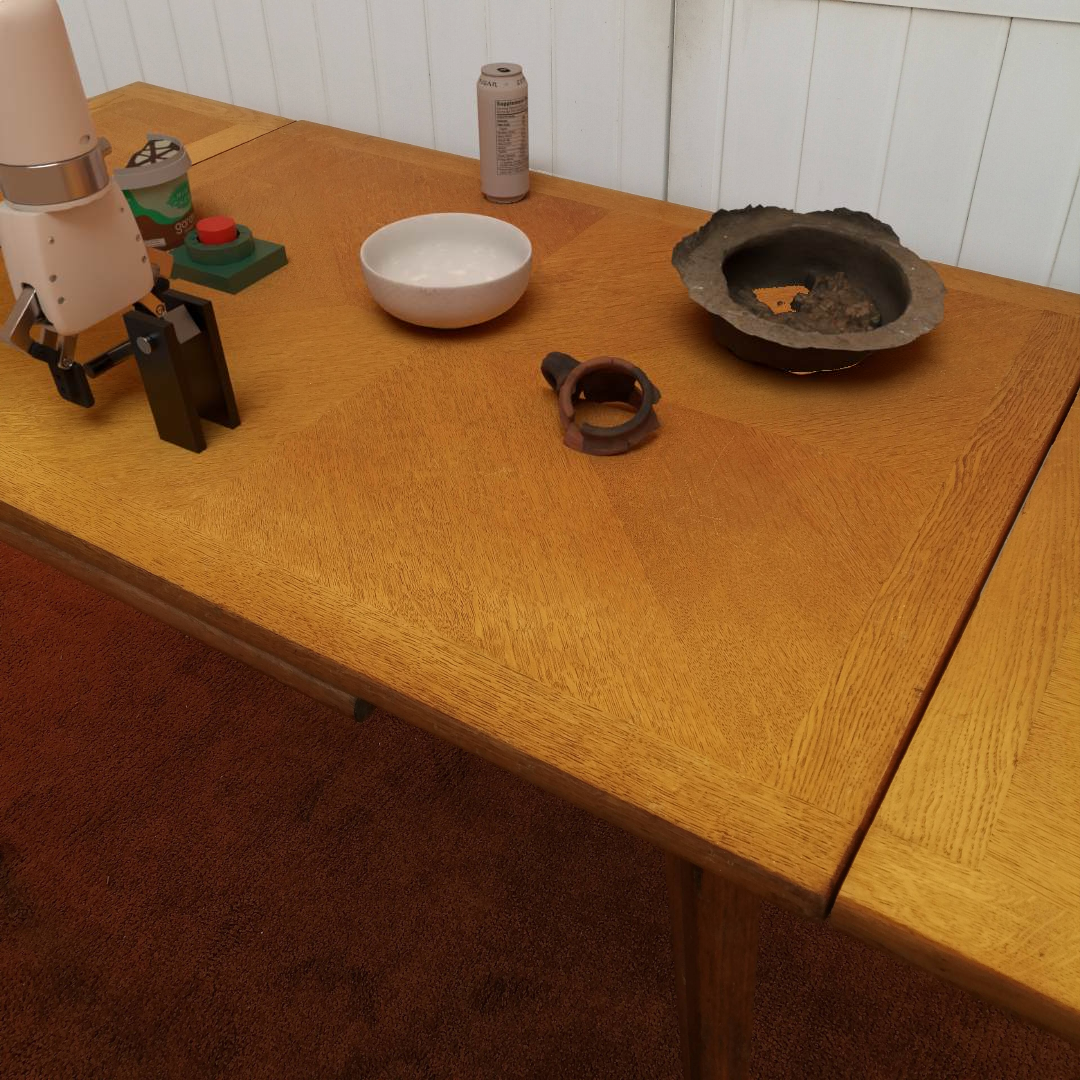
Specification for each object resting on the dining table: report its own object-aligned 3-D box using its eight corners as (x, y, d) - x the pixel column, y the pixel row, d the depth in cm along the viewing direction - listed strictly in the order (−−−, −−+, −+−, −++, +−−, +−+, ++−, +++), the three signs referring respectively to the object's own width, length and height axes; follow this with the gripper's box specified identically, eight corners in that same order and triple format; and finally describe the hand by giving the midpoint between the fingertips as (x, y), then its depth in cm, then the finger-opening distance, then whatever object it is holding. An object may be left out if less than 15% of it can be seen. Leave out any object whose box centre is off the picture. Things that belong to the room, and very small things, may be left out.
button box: (162, 276, 109) (153, 241, 106) (220, 246, 115) (213, 212, 112) (231, 297, 105) (223, 261, 103) (288, 264, 111) (281, 229, 108)
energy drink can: (513, 183, 129) (510, 58, 119) (538, 198, 125) (537, 70, 115) (473, 193, 126) (466, 66, 117) (496, 208, 123) (491, 79, 113)
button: (191, 242, 107) (187, 226, 106) (218, 228, 110) (214, 213, 109) (219, 249, 106) (216, 233, 104) (245, 236, 108) (242, 220, 107)
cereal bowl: (335, 330, 99) (324, 264, 95) (420, 264, 111) (414, 201, 106) (486, 367, 94) (482, 298, 89) (559, 293, 105) (560, 228, 101)
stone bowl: (723, 259, 111) (739, 176, 104) (949, 328, 102) (981, 243, 96) (624, 355, 94) (637, 264, 88) (884, 447, 86) (918, 353, 80)
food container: (191, 259, 112) (168, 170, 106) (136, 260, 112) (110, 170, 106) (219, 215, 121) (200, 131, 115) (169, 215, 122) (147, 131, 115)
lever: (93, 385, 83) (75, 360, 82) (139, 359, 86) (122, 334, 86) (167, 352, 75) (148, 323, 74) (214, 324, 79) (196, 296, 78)
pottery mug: (681, 424, 87) (686, 379, 79) (617, 506, 85) (616, 468, 77) (572, 354, 90) (566, 304, 83) (507, 432, 88) (495, 388, 81)
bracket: (122, 451, 84) (75, 312, 76) (191, 405, 89) (154, 271, 81) (219, 490, 80) (181, 348, 71) (286, 439, 85) (257, 302, 77)
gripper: (108, 130, 81) (163, 325, 92) (-87, 205, 70) (3, 417, 81) (176, 146, 78) (224, 345, 90) (-16, 226, 67) (67, 442, 78)
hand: (119, 378), depth 85 cm, fingers open, 7 cm apart
